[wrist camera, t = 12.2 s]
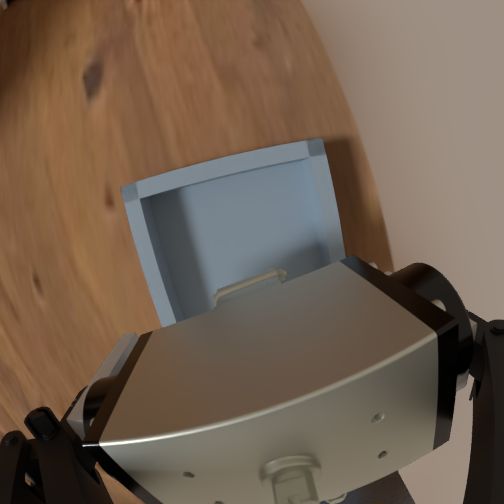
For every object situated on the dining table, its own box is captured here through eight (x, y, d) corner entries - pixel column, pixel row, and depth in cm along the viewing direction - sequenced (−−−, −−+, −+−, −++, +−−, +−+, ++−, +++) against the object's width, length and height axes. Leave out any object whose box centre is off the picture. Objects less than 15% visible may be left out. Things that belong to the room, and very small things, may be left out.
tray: (135, 187, 18) (120, 187, 16) (309, 144, 19) (322, 137, 16) (204, 394, 22) (201, 417, 19) (345, 361, 22) (357, 380, 19)
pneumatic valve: (143, 302, 16) (31, 471, 4) (342, 225, 15) (533, 306, 4) (186, 379, 17) (153, 556, 5) (365, 312, 16) (495, 448, 5)
